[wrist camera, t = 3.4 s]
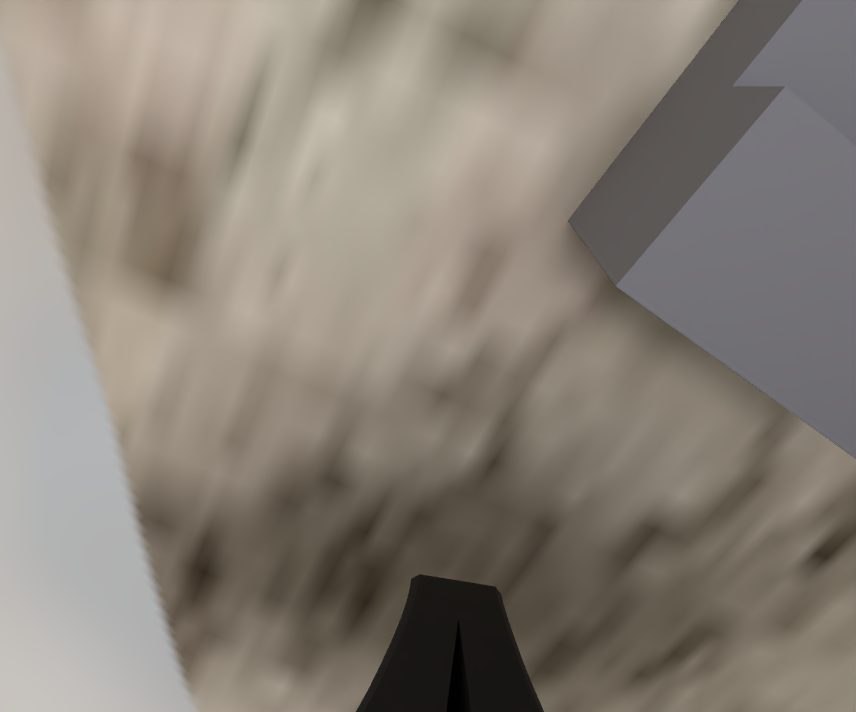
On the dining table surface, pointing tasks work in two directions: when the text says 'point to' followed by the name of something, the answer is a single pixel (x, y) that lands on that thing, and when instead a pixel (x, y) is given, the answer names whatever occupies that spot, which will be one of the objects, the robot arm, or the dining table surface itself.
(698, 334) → the grey stepped block
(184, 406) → the dining table surface
